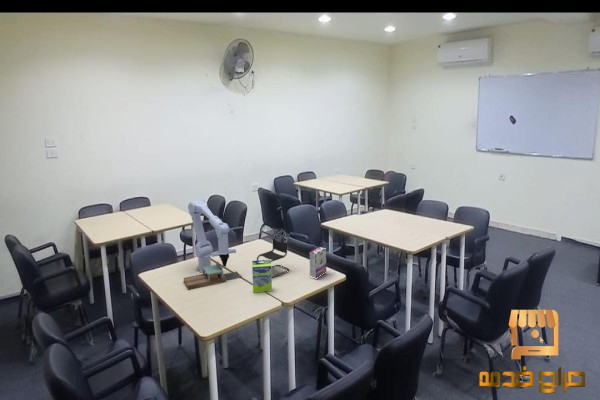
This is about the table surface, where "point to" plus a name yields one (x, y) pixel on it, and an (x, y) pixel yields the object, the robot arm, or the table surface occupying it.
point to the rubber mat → (232, 275)
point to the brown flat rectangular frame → (202, 281)
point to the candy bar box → (317, 262)
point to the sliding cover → (213, 270)
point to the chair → (280, 247)
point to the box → (262, 276)
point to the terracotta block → (213, 276)
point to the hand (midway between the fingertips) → (224, 266)
